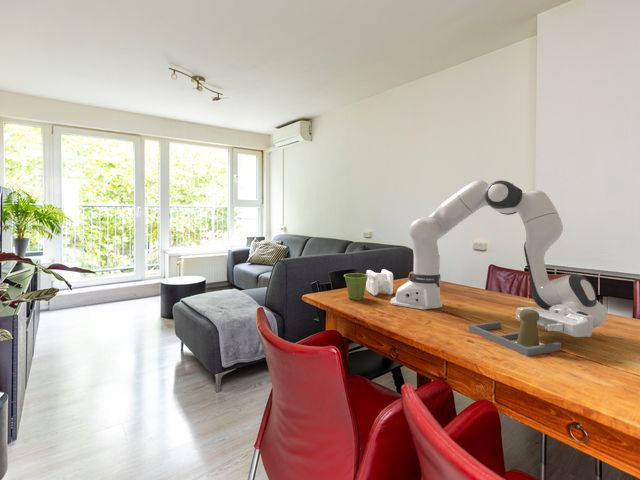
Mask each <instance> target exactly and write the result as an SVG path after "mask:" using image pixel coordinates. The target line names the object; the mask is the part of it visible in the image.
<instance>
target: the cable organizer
mask: <svg viewBox="0 0 640 480" xmlns="http://www.w3.org/2000/svg"><path fill="white" fill-rule="evenodd" d="M365 274H366V275H368V277H367V282H366V286H365V290H366V291H367V292H368V293H370V294H371V295H372V296H374V297H375V296H378V294H379V293H380V292H383V293H385V294H387V295H389V296H391V295H392V294H394V274H393V272H392V271H389V270H387V269H385V268H383V269H381V272H374V271H373V270H371V269H367V270H366V273H365Z"/></svg>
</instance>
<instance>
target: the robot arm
mask: <svg viewBox="0 0 640 480" xmlns="http://www.w3.org/2000/svg"><path fill="white" fill-rule="evenodd" d="M486 206H487V207H488V206H489V207H490V208H492V209H493V210H494V211H495V212H498V213H500V214H502V215H506V216H509V215H514V214H518V215H519V217H520V218H521V220H522V223H523V226H524V229H525V235H526V237H525V242H524V245H523V251H524V257H525V261H526V266H527V270H528V276H529V280H530V284H531V295H532V300H533V301H534V303H535V304H536V305H537V306H538V307H535V306H521V307H517V308H516V318H515V320H516V321H518V322H521V318H520V311H521V310H523V309H530V310H534V311H537V312H538V313H539V320H538V321H537V326H540V327H542V328H543V329H544V330H545V331H548V332H551V331H553V332H557V333H561V334H564V335H567V336H570V337H575V338H590V337H592V335H593V329H595V328H598V327H600V326H602V325H604V324H605V322H606V321H607V320H608V316H609V314H608V311H607V308H606V307H605V306H604V305H603V304H602V303H601V302H599V301H598V300H597V292H596V289H595V287H594V285H593V284H592V282H591V281H589V280H588V278H586V277H584V276H582V275H581V274H578V273H571V274H567V275H564V276H560V277H559V278H554V279H551V280H550V278H549V276H548V272H547V268H546V263H545V255H546V253H547V251H548V250H549V249H550V247H552V246H553V245H554V244H555V243H556V242H557V241H558V240H559V238H560V237H561V235H562V233H563V231H564V226H563V222H562V219H561V217H560V215H559V213H558V210H557V209H556V207H555V204H554V203H553V201H552V200H551V198H550V197H549V196H548V194H546V192H545V191H542V190H539V189H538V190H535V189H534V190H531V191H526V192H523V190H522V189H521V188H519V187H518V186H516V185H515V184H513V183H511V182H509V181H507V180H502V179H501V180H496V181H493V182H491V183H490V184H489V183H488V182H486V181H485V180H483V179H476V180H474V181H472V182H470V183H468V184H466V185H464V187H462V188H461V189H459V190H457V191H456V192H455V193H454V194H452V195H451V196H449V197H448V198H447V199H446V200H444V201H443V202H442V203H441V204H440V205H439V206H438V207H437V208H436V209H435V210H434V211H433V212H431V214H430V215H428V216H425V217H420V218H417V219H415V220H414V221H413V222H412V223H411V224H410V226H409V228H408V233H409V237H410V238H411V239H410V240H411V246H412V251H413V252H412V253H413V271H411V272H409V273H408V281H406V282H404V283H403V284H402V285H400V286H399V287H398V288H397V290H396V292H395V296H394V297H391V299H390V304H391V305H395V306H400V307H406V308H410V309H411V308H412V309H417V310H428V309H439V308H441V307H443V303H442V298H441V291H440V290H441V289H440V287H441V273H440V265H441V263H440V262H441V261H440V260H441V257H440V253H439V247H438V245H439V244H438V240H440V239H441V238H442V237H444V236H445V235H446V234H448V233H449V232H451V230H452V229H454V228H455V227H456V226H457V225H459V224H460V223H461V222H463V221H465V219H467V218H469V217H470V216H471V215H473V214H474V213H476V212H477V211H479V210H480V209H481V208H483V207H486ZM539 307H540V308H539Z"/></svg>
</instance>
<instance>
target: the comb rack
mask: <svg viewBox="0 0 640 480" xmlns="http://www.w3.org/2000/svg"><path fill="white" fill-rule="evenodd" d="M501 328H502V322H501V321H497V320H496V321H491V322H483V323H477V324H469V325H468V332H471V333H473V334H476V335H478V336H479V337H480V336H481V337H482V338H485V339H487V340H490V341H491V342H494V343H496V344H499V345H501V346H503V347H505V348H508V349H510V350H512V351H515V352H517V353H520V354H521V355H524V356H526V357H531V356H535V355H536V356H537V355H541V354H542V355H543V354H548V353H552V352H553V353H555V352H559V351H561V350H562V349H561V347H562V344H561V342H557V341H556V342H551V343H550V342H549V343H542V342H540V341H539V345H538V346H532V347H525V346H523V345H520V344H518V343H517V339H518V334H519V331H515V332H508V333H502V334H496V333H493V332H491V331H488V330H494V329H495V330H497V329H501Z"/></svg>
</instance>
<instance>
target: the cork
mask: <svg viewBox="0 0 640 480" xmlns="http://www.w3.org/2000/svg"><path fill="white" fill-rule="evenodd" d="M520 318H521V321H520V325H519V330H518V332H519V334H518V339H517V343H518V344H520V345H523V346H525V347H532V346H538V345H539V342H540V341H539V339H540V338H539V328H538V325H537V321H538V320H539V313H538V312H537V311H534V310H530V309H523V310H521V311H520Z"/></svg>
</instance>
